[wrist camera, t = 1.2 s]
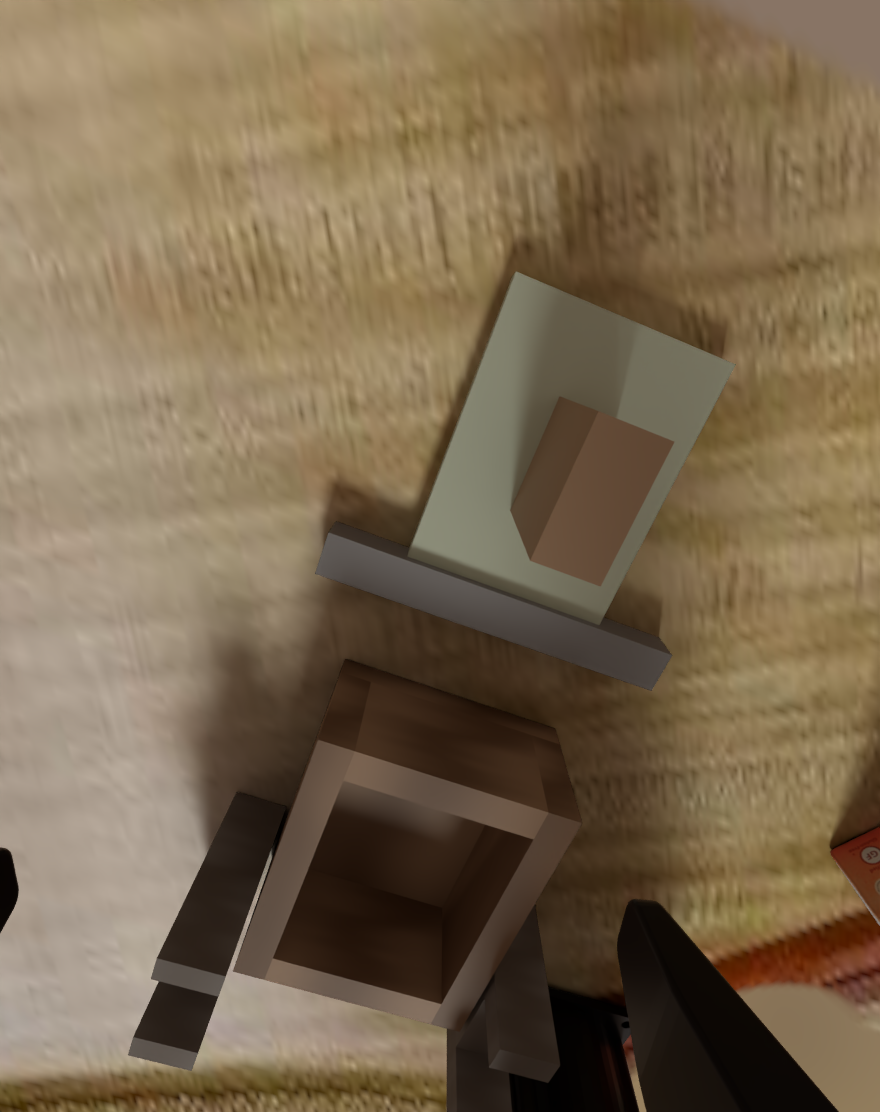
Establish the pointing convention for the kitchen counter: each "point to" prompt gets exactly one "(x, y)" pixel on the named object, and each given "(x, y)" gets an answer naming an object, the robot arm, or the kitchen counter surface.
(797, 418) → the kitchen counter surface
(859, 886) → the cracker box
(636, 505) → the door
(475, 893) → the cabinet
